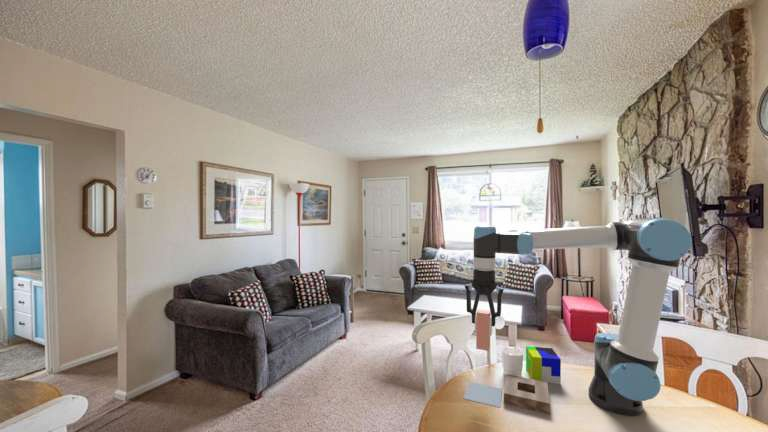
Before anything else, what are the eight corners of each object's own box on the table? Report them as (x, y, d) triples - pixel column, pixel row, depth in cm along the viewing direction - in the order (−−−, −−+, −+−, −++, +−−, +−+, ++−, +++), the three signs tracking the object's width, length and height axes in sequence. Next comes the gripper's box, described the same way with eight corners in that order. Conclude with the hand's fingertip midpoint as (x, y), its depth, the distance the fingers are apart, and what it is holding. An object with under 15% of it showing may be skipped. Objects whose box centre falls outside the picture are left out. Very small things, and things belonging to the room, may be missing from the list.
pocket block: (547, 393, 113) (547, 382, 113) (549, 415, 100) (550, 403, 100) (505, 384, 118) (506, 373, 118) (503, 404, 106) (503, 393, 106)
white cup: (502, 379, 122) (502, 353, 122) (501, 369, 130) (501, 345, 130) (524, 382, 120) (524, 356, 120) (521, 372, 127) (521, 348, 127)
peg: (489, 346, 112) (490, 310, 112) (488, 350, 109) (489, 314, 109) (477, 344, 114) (478, 309, 114) (476, 348, 110) (476, 312, 110)
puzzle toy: (560, 385, 118) (560, 359, 118) (532, 382, 120) (532, 356, 120) (551, 372, 128) (551, 348, 128) (525, 369, 130) (526, 346, 130)
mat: (502, 390, 114) (502, 388, 114) (499, 409, 103) (499, 407, 103) (469, 383, 119) (469, 381, 119) (463, 399, 108) (463, 398, 108)
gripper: (510, 269, 111) (509, 334, 111) (461, 265, 118) (461, 326, 118) (509, 272, 104) (508, 341, 104) (457, 268, 111) (457, 333, 112)
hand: (483, 333), depth 111 cm, fingers closed on peg, 4 cm apart
